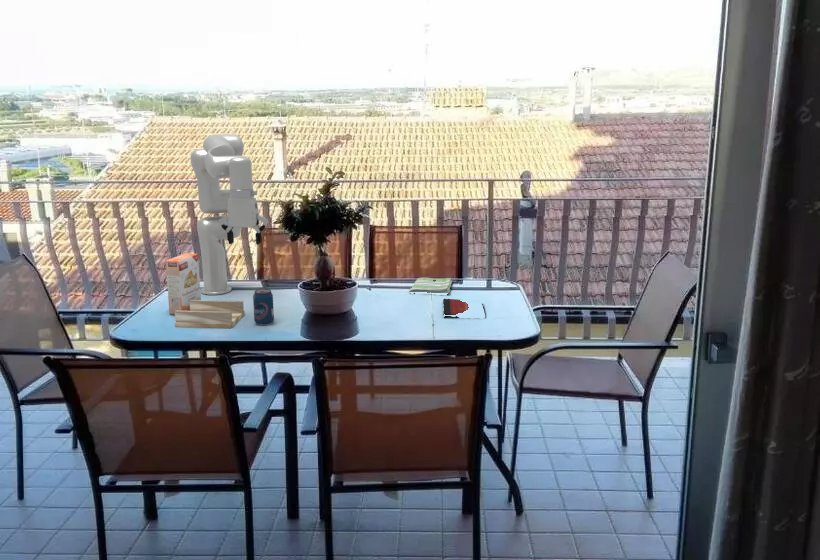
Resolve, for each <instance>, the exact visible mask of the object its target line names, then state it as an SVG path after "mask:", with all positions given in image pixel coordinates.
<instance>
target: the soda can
mask: <svg viewBox="0 0 820 560" xmlns="http://www.w3.org/2000/svg"><path fill="white" fill-rule="evenodd" d="M273 296H274V294H273V293H272V290H271V289H270V288H259V289H255V290H254V293H253V296H252V299H253V300H252V303H253V304H252V305H253V320H254V322H255V324H256V325H258V326H268V324H269V325H272V324H273V323H274V320H275V314H274V313H275V312H274V297H273ZM271 323H272V324H271Z"/></svg>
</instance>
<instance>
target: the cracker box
mask: <svg viewBox="0 0 820 560" xmlns="http://www.w3.org/2000/svg"><path fill="white" fill-rule="evenodd" d="M165 272H166V283H167V299H168V309H169V310H168V311H169V315H172V316H173V315H174V316H175V311H176V310H179V311H190V304H189V301H190V300H202V297H201V294H202V293H201V292H200V289H201V282H200V281H201V280H200V279H201V278H200V265H199V254H198V253H190V252H189V253H188V252H186V253H183V254H180V255H178V256H177V255H176V256H175V257H172V258H169V259H166V260H165Z"/></svg>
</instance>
